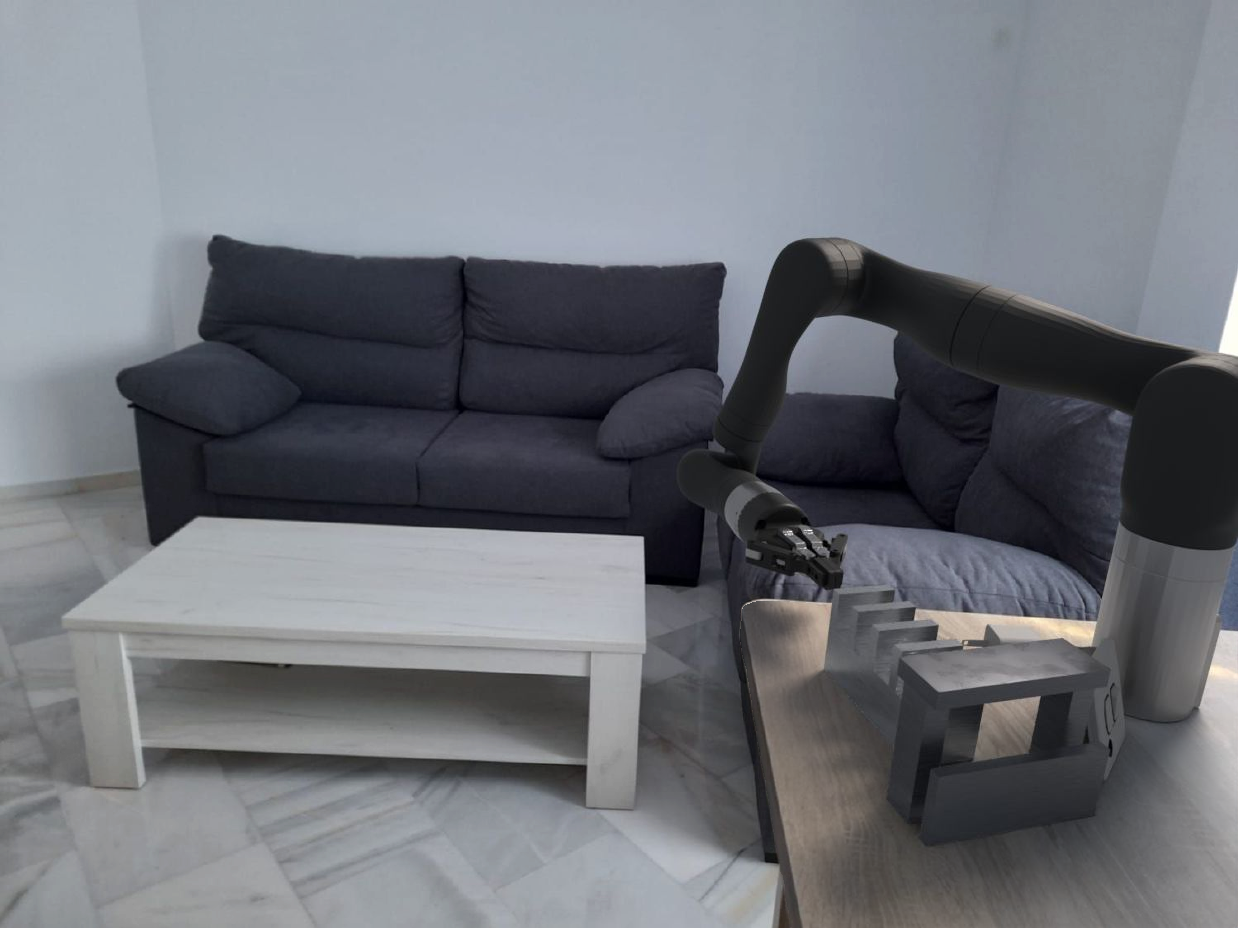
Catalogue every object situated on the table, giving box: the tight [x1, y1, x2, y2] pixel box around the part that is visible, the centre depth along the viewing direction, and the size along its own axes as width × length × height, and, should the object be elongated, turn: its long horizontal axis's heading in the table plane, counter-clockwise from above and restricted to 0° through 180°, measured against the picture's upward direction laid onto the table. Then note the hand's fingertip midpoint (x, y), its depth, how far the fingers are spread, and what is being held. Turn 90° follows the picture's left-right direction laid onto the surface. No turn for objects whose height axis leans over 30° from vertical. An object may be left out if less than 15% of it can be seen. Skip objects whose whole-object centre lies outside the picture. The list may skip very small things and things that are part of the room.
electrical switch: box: [1075, 638, 1126, 782], centre depth 76 cm, size 9×5×9 cm, turn 141°
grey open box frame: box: [886, 637, 1111, 847], centre depth 68 cm, size 15×6×12 cm, turn 105°
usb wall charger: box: [961, 624, 1044, 648], centre depth 90 cm, size 4×7×4 cm, turn 88°
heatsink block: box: [823, 584, 985, 764], centre depth 80 cm, size 6×16×9 cm, turn 14°
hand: (835, 581), depth 91 cm, fingers closed
